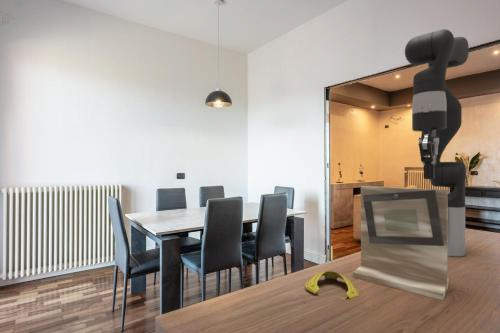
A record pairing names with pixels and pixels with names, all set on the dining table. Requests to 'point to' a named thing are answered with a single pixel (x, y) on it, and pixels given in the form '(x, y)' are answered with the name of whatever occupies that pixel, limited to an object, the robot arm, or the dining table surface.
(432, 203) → the picture frame
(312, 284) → the yellow horseshoe piece
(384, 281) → the wall board stand
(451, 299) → the dining table surface
